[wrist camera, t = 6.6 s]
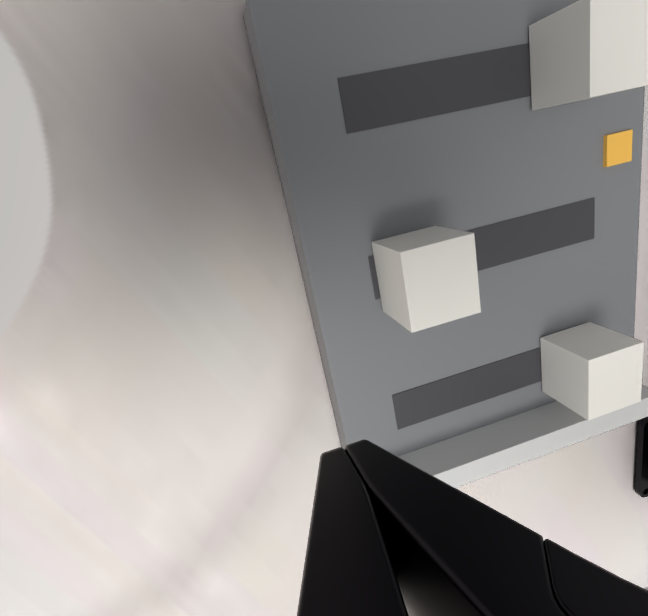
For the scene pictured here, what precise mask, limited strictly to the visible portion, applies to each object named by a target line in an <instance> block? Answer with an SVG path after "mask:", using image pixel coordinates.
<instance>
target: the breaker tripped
mask: <svg viewBox="0 0 648 616" xmlns="http://www.w3.org/2000/svg"><path fill="white" fill-rule="evenodd" d="M371 243H372V249H373V255H374V261H375V266H376V272H377V278H378V284H379V290H380V296H381V302H382V308H383V311H384V312H385V313H386V314H388V315H389V316H390V317H391V318H393V319H394V320H395V321H397V322H398V323H399V324H401V325H402V326H403V327H405V328H406V329H407V330H409V331H410V332H411V333H413V332H417V331H420V330H423V329H427V328H430V327H433V326H437V325H440V324H443V323H447V322H450V321H453V320H457V319H460V318H463V317H467V316H470V315H473V314H477V313H480V312H481V306H480V295H479V283H478V271H477V260H476V248H475V237H474V233H471V232H466V231H461V230H455V229H450V228H445V227H439V226H432V227H428V228H424V229H420V230H416V231H412V232H408V233H404V234H400V235H397V236H393V237H389V238H385V239H381V240H377V241H373V242H371Z"/></svg>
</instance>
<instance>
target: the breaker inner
mask: <svg viewBox="0 0 648 616" xmlns="http://www.w3.org/2000/svg"><path fill="white" fill-rule="evenodd" d="M540 343H541V370H542V391H543V392H544V393H546V394H547V395H549V396H550V397H552V398H554V399H555V400H557V401H558V402H560V403H561V404H563V405H565V406H566V407H568V408H569V409H571V410H572V411H574V412H576V413H577V414H579V415H580V416H582V417H584V418H585V419H587V420H588V421H589V420H591V419H594V418H597V417H600V416H602V415H605V414H608V413H611V412H613V411H616V410H619V409H622V408H624V407H627V406H630V405H632V404H635V403H638V402H641V390H642V371H643V351H644V342H643V341H640V340H638V339H635V338H632V337H629V336H627V335H624V334H621V333H618V332H616V331H613V330H610V329H608V328H605V327H602V326H599V325H597V324H594V323H591V322H588V323H585V324H582V325H578V326H575V327H572V328H569V329H566V330H563V331H560V332H557V333H553V334H550V335H547V336H544V337H541V338H540Z"/></svg>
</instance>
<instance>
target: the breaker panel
mask: <svg viewBox="0 0 648 616" xmlns="http://www.w3.org/2000/svg"><path fill="white" fill-rule="evenodd" d="M577 1H579V0H246V4H245V11H244V17H243V18H244V22H245V27H246V31H247V35H248V40H249V44H250V49H251V53H252V57H253V62H254V66H255V70H256V75H257V79H258V84H259V88H260V92H261V97H262V101H263V106H264V110H265V114H266V119H267V123H268V127H269V132H270V136H271V141H272V145H273V149H274V154H275V158H276V162H277V167H278V171H279V176H280V180H281V184H282V189H283V193H284V197H285V202H286V206H287V211H288V215H289V219H290V224H291V228H292V233H293V237H294V241H295V246H296V250H297V254H298V259H299V263H300V268H301V272H302V276H303V281H304V285H305V289H306V294H307V298H308V303H309V307H310V311H311V316H312V320H313V324H314V329H315V333H316V338H317V342H318V346H319V351H320V355H321V360H322V364H323V368H324V373H325V377H326V381H327V386H328V390H329V395H330V399H331V403H332V408H333V412H334V416H335V421H336V425H337V430H338V434H339V438H340V443H341V447H342V448H343V449H345V446H346V445H348V444H351V443H354V442H357V441H360V440H363V439H365V440H369V441H370V442H372V443H374V444H376V445H378V446H380V447H381V448H383V449H385V450H387V451H389V452H390V453H392V454H394V455H396V456H398V457H399V458H401V459H403V460H405V461H407V462H409V463H410V464H412V465H414V466H416V467H418V468H419V469H421V470H423V471H425V472H427V473H429V474H430V475H432V476H434V477H436V478H438V479H439V480H441V481H443V482H445V483H447V484H449V485H450V486H452V487H454V488H458V487H460V486H463V485H466V484H468V483H471V482H474V481H476V480H479V479H482V478H484V477H487V476H490V475H492V474H495V473H498V472H500V471H503V470H506V469H508V468H511V467H514V466H516V465H519V464H522V463H524V462H527V461H530V460H533V459H535V458H538V457H541V456H543V455H546V454H549V453H551V452H554V451H557V450H559V449H562V448H565V447H567V446H570V445H573V444H575V443H578V442H581V441H583V440H586V439H589V438H591V437H594V436H597V435H599V434H602V433H605V432H607V431H610V430H613V429H616V428H618V427H621V426H624V425H626V424H629V423H632V422H634V421H637V420H640V419H642V418H645V417H648V388H647V387H645V386H643V385H642V390H641V402H638V403H635V404H632V405H630V406H627V407H624V408H622V409H619V410H616V411H613V412H611V413H608V414H605V415H602V416H600V417H597V418H594V419H591V420H589V421H588V420H587V419H585V418H584V417H582V416H580V415H579V414H577V413H576V412H574V411H572V410H571V409H569V408H568V407H566V406H565V405H563V404H561V403H560V402H558V401H557V400H555V399H554V398H552V397H550V396H549V395H547V394H546V393H544V392H543V391H542V370H541V343H540V338H541V337H544V336H547V335H550V334H553V333H557V332H560V331H563V330H566V329H569V328H572V327H575V326H578V325H582V324H585V323H588V322H591V323H594V324H597V325H599V326H602V327H605V328H608V329H610V330H613V331H616V332H618V333H621V334H624V335H627V336H629V337H632V338H634V322H635V299H636V275H637V252H638V229H639V206H640V183H641V159H642V136H643V113H644V90H645V86H642V87H638V88H634V89H629V90H625V91H621V92H616V93H612V94H608V95H603V96H599V97H595V98H590V99H586V100H581V101H576V102H572V103H567V104H562V105H558V106H553V107H548V108H543V109H539V110H534V111H532V100H531V73H530V45H529V26H530V25H532V24H534V23H535V22H537V21H539V20H541V19H543V18H545V17H547V16H549V15H551V14H553V13H555V12H557V11H559V10H561V9H563V8H565V7H567V6H569V5H571V4H573V3H575V2H577ZM432 226H439V227H445V228H450V229H455V230H461V231H466V232H471V233H474V237H475V248H476V260H477V271H478V283H479V295H480V306H481V312H480V313H477V314H473V315H470V316H467V317H463V318H460V319H457V320H453V321H450V322H447V323H443V324H440V325H437V326H433V327H430V328H427V329H423V330H420V331H417V332H413V333H411V332H410V331H409V330H407V329H406V328H405V327H403V326H402V325H401V324H399V323H398V322H397V321H395V320H394V319H393V318H391V317H390V316H389V315H388V314H386V313H385V312H384V311H383V308H382V302H381V296H380V290H379V284H378V278H377V272H376V266H375V261H374V255H373V249H372V243H371V242H373V241H377V240H381V239H385V238H389V237H393V236H397V235H400V234H404V233H408V232H412V231H416V230H420V229H424V228H428V227H432Z"/></svg>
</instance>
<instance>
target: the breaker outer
mask: <svg viewBox="0 0 648 616" xmlns="http://www.w3.org/2000/svg"><path fill="white" fill-rule="evenodd" d="M529 45H530V73H531V100H532V111H534V110H539V109H543V108H548V107H553V106H558V105H562V104H567V103H572V102H576V101H581V100H586V99H590V98H595V97H599V96H603V95H608V94H612V93H616V92H621V91H625V90H629V89H634V88H638V87H642V86H647V85H648V0H579V1H577V2H575V3H573V4H571V5H569V6H567V7H565V8H563V9H561V10H559V11H557V12H555V13H553V14H551V15H549V16H547V17H545V18H543V19H541V20H539V21H537V22H535V23H534V24H532V25H530V26H529Z"/></svg>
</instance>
